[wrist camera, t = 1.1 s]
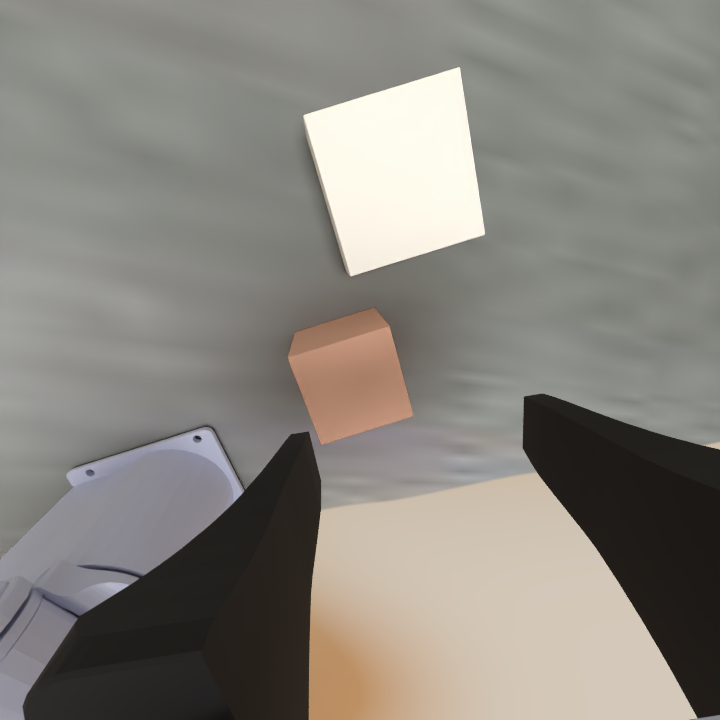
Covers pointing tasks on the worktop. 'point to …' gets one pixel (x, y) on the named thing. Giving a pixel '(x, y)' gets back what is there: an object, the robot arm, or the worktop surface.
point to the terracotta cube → (349, 375)
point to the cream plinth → (397, 171)
